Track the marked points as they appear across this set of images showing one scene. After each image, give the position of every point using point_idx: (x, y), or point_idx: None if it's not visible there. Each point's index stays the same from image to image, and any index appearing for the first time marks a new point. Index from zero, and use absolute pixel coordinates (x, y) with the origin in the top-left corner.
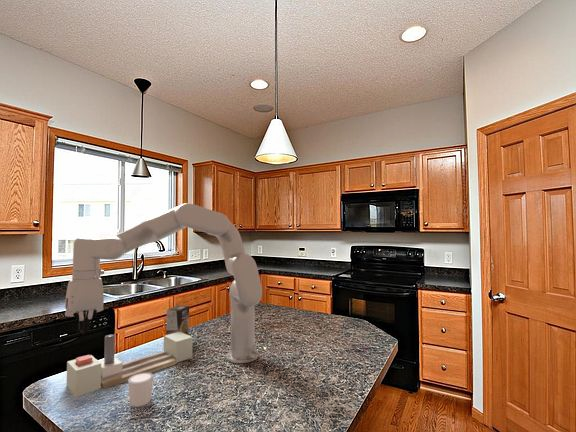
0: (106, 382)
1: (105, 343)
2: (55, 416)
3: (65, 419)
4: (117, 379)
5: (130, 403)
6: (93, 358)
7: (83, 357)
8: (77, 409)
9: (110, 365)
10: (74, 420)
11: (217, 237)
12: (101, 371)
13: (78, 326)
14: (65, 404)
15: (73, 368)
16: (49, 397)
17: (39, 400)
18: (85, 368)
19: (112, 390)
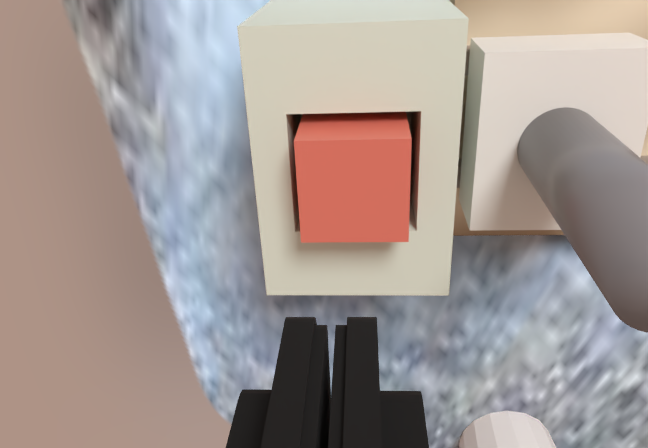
0: (463, 222)
1: (579, 251)
2: (191, 318)
3: (224, 367)
4: (529, 231)
5: (460, 444)
6: (445, 141)
7: (349, 182)
8: (277, 327)
9: (533, 217)
10: None
11: None
12: (466, 183)
13: (232, 428)
14: (238, 244)
15: (260, 233)
16: (172, 94)
17: (122, 91)
18: (332, 293)
19: (465, 270)
